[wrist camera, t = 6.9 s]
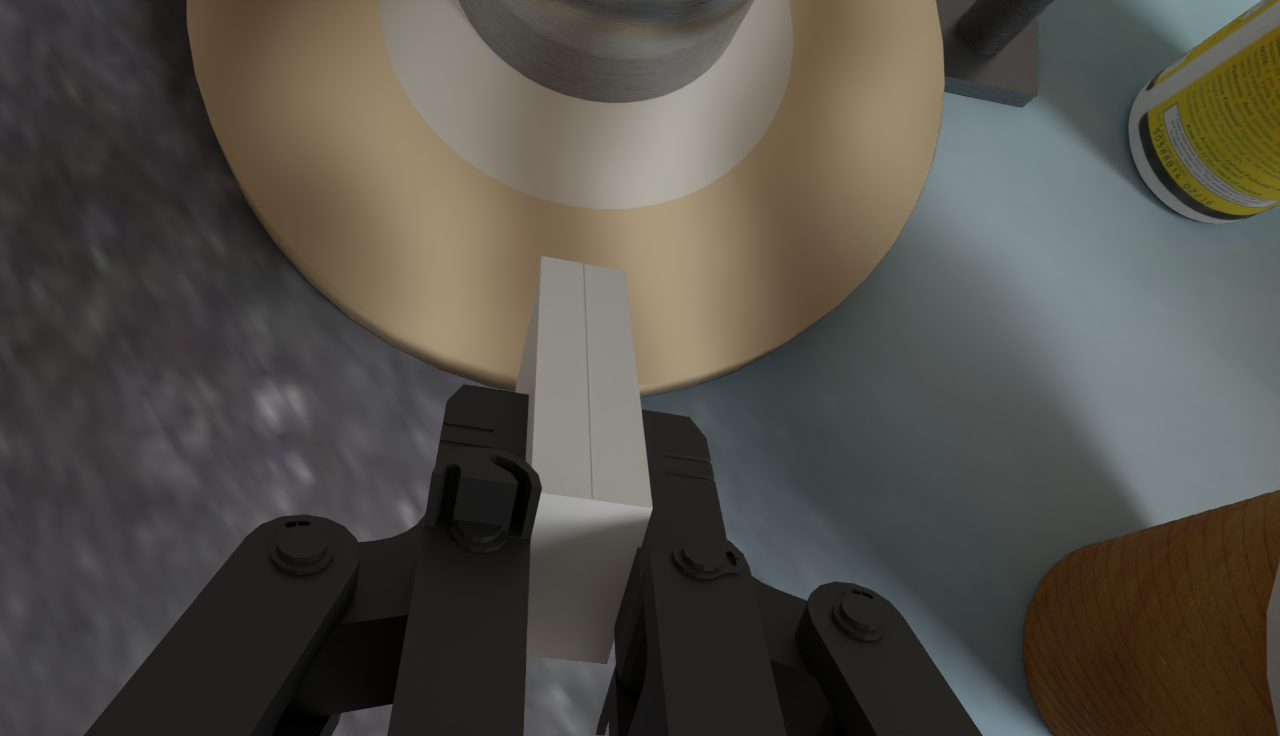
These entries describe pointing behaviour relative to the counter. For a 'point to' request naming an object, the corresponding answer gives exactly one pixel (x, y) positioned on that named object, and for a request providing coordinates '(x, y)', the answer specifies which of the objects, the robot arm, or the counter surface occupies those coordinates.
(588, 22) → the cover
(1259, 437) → the counter surface
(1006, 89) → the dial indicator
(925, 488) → the counter surface
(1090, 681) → the disposable coffee cup
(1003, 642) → the counter surface
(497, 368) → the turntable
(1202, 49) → the supplement bottle
